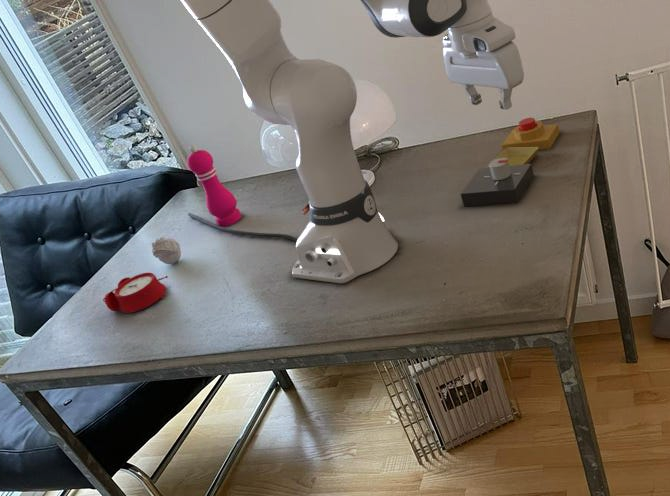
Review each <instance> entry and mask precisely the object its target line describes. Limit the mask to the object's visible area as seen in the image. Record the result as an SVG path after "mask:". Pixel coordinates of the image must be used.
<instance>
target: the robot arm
mask: <svg viewBox="0 0 670 496" xmlns="http://www.w3.org/2000/svg"><path fill="white" fill-rule="evenodd" d="M359 1H360V2H361V4H362V5H363V6H364V8H365V10H366V12H367V14H368V16H369V18H370V19H371V22H372V23H373V25H374V26H375V28H376V29H377V30H378V31H379V32H380V33H381V34H383V35H385V36H387V37H389V38H394V39H395V38H405V37H410V38H433V37H436V36H439V35H441V34H443V33H445V32H447V33H446V34H444V36H443V39H442V45H443V47H442V58H443V63H444V67H445V71H446V72H445V73H446V77H447V78H448V80H449V81H450V82H451V83H454V84H459V85H460V84H461V87H462V89H463V91H464V92H465V93H466V95H467V96H468V97H469V101H470V104H471V105H473V106H478V105H480V104H481V103H482V102H483V99H482V95H481V93H478V91H477V89H476V87H475V86H477V87H484V88H485V87H486V88H494V89H498V93H499V94H501V98H500V99H499V100H498V103H499V108H500V109H501V110H509V109H511V108H512V107H513V104H512V101H511V100H512V99H511V98H512V92H513V89H514V88H516V87H518V86H519V85H521V84H522V83H523V81H524V78H525V73H524V67H523V63H522V59H521V55H520V51H519V48H518V47H517V45H516V43H515V42H513V40H515V39H516V32H515V29H514V28H513V27H512V26H510V25H508V24H507V23H504V22H503V21H501V20H500V19H498V18H497V17H495V16H494V13H493V11H492V7H491V5H490V4H489V1H488V0H359ZM180 2H181V3H182V4H183V6H184V7H185V9H187V11H188V12H189V13H190V14H191V16H192V18H194V20H195V21H196V22H197V23H198V24H199V26H200V27H201V28H202V29H203V31H204V32H205V33H206V34H207V36H209V38H210V39H211V40H212V42H213V43H214V44H215V45H216V46H217V48H218V49H219V50H220V52H222V54H223V55H224V56H225V58H226V59H227V61H228V62H229V64H230V65H231V67H232V69H233V71H234V72H235V74H236V76H237V78H238V80H239V82H240V84H241V86H242V94H243V99H244V101H245V104H246V106H247V108H248V109H249V110H250V111H251V112H252V114H254V115H255V116H256V117H258V118H261V119H262V120H264V121H266V122H267V123H268V122H269V123H270V124H273V125H279V126H287V127H288V126H289V127H291V128H292V129H293V131H294V133H295V136H296V140H297V146H298V155H297V157H296V160H295V170H296V172H297V175H298V177H299V179H300V181H301V184H302V186H303V188H304V191H305V193H306V195H307V197H308V202H307V203H306V205H305V206H304V207H303V208H302V209H301V212H303V216H305V215H307V213H309V221H308V223H307V224H306V226H305V227H304V229H303V230H302V231H301V233H300V235H299V236H298V238H297V237H295V236H293V235H290V234H285V233H267V232H266V233H264V232H254V231H253V232H252V231H245V230H237V229H232V228H228V227H221V226H218V224H217V223H213V222H210V221H208V220H206V219H204V218H203V217H200V216H198V215H196V214H194V213H192V212H188V213H187V216H188V217H191V218H193V219H195V220H197V221H199V222H201V223H203V224H205V225H207V226H210V227H212V228H214V229H217V230H220V231H223V232H228V233H232V234H236V235H243V236H250V237H251V236H252V237H264V238H284V239H289V240H291V241H293V242H295V252H296V257H297V258H298V259H297V260H296V261H295V262H294V264H293V266H292V269H291V275H292V277H293V278H295V279H302V280H311V281H319V282H327V283H335V284H346V283H348V282H350V281H351V280H354V279H355V278H357V277H359V276H362V275H364V274H366V273H370V272H372V271H374V270H376V269H378V268H380V267H381V266H383V265H384V264H386V263H388V262H389V261H390V260H391V259H392V258H393V257H394V256H395V254H396V253H397V252H398V248H399V243H398V241H397V240H396V239H395V238H394V236H393V235H392V233H391V231H390V230H389V229H388V227H387V226H386V224H385V219H384V216H383V215H381V213H380V212H379V211H378V208H377V203H376V200H375V197H374V194H373V192H372V189H371V187H370V184H369V182H368V181H367V180H366V179H365V177H364V175H363V172H362V169H361V166H360V163H359V161H358V158H357V155H356V151H355V149H354V145H353V141H352V140H353V139H352V134H351V133H352V131H351V117H352V115H353V114H354V111H355V109H356V106H357V102H358V100H357V98H358V93H357V87H356V84H355V80H354V79H353V77H352V76H351V74H350V72H348V70H346V69H345V68H343V67H342V66H340V65H337V64H335V63H332V62H330V61H327V60H324V59H319V58H314V59H311V58H310V59H299V58H297V56H295V54H293V53H292V52H291V51H290V49H289V47H288V46H287V43H286V41H285V39H284V37H283V34H282V31H281V29H282V18H281V16H280V13H279V12H278V10H277V9H276V8H275V7H274V5H273V3H272V2H271V1H270V0H180Z"/></svg>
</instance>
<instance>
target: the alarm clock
mask: <svg viewBox="0 0 670 496" xmlns="http://www.w3.org/2000/svg"><path fill="white" fill-rule="evenodd" d="M164 279H168V275H165V276H163V277H161V278H157V276H156V275H155V274H154V273H153V272H143V273H139V274H137V275H134V276H132V277H130V276H129V277H123V278H121V279H120V280H119V281H118V283H117V287H116V288H115V289H113V290H110V291H109V292H107V293H106V294H105V295H104V297H103V299H102V302H104V303H105V305H106V307H107V308H108V310H109V311H112V312H117V311H119V310H120V311H121V312H123V313H126V314H128V313H129V314H130V313H135V312H138V311H141V310H144V309H146V308H148V307H149V306H151V305H153V304H155V303H156V302H157V301H158V300H160V299H161V298H162V299H164V298H165V297H166V295H165V294H166V291H167V287H166V286H165V284H163V283H162V282H160V281H162V280H164Z"/></svg>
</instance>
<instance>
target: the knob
mask: <svg viewBox="0 0 670 496" xmlns="http://www.w3.org/2000/svg"><path fill="white" fill-rule="evenodd" d="M494 159H495V158H494ZM494 159H493V160H491V161H490V162H489V164H488V165H489V167H488V168H490V171H491V174H492V178H493V179H494V180H502V179H505V178H507V177H509V176H510V175H511V169H510V165H509V161H508V159H507V158H498V159H495V160H494Z"/></svg>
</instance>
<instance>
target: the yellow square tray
mask: <svg viewBox="0 0 670 496" xmlns="http://www.w3.org/2000/svg"><path fill="white" fill-rule="evenodd" d="M538 149H539V147H512V148H506V149H504V150H503V149H502V151H501V152H500V153H499V154H498V155H497V156H496V157H495V158H494V159H493V160H495V159H498V158H507V159H508V161H509V165H510V166H513V165H523V164H530V163H531V162H532V160H534V158H535V157H536V156H537V153H538V151H539V150H538ZM487 168H490V167H489V164H488V165H487Z"/></svg>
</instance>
